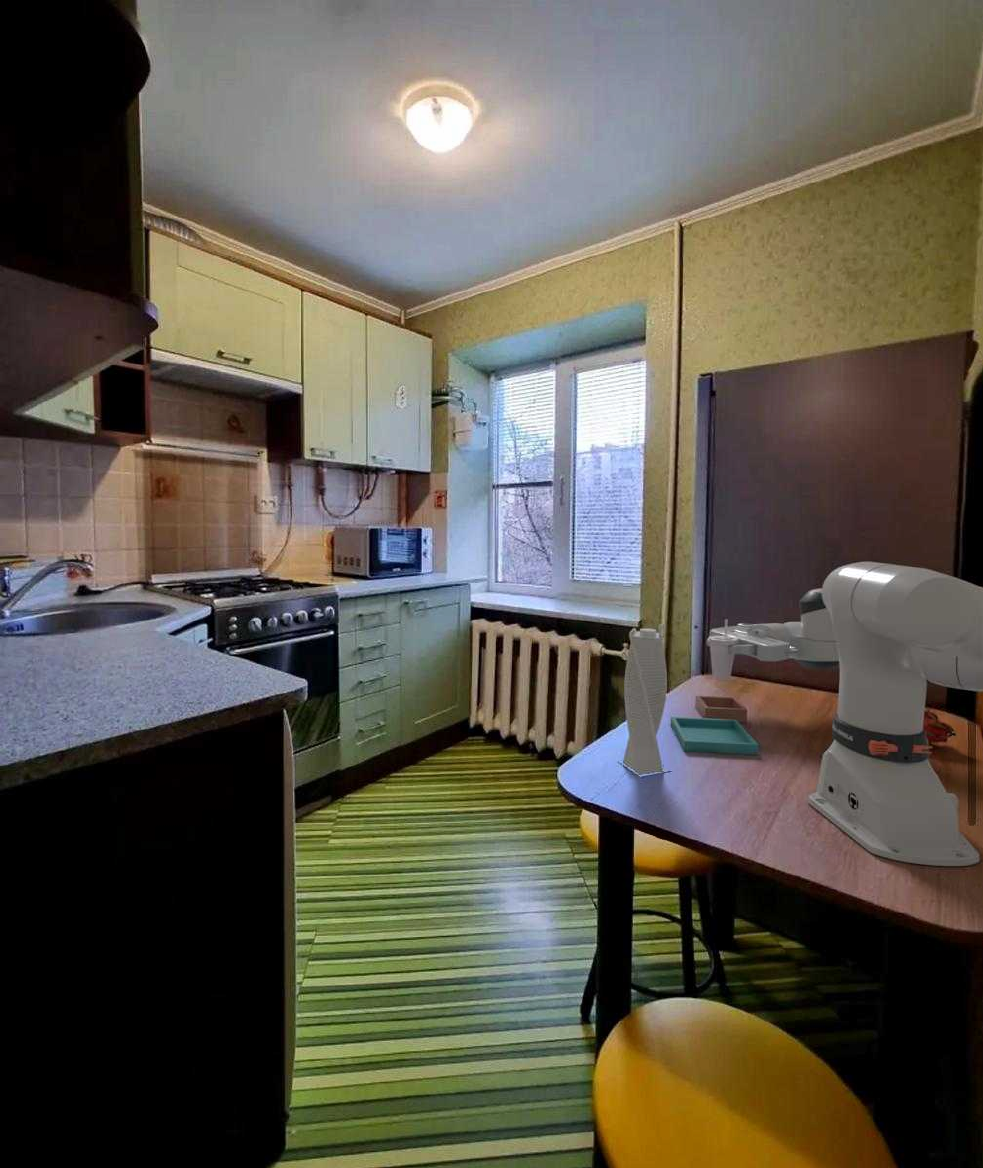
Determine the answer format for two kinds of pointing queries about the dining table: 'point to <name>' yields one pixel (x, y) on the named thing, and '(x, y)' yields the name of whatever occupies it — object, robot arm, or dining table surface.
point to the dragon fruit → (936, 728)
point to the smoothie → (722, 655)
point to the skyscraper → (645, 699)
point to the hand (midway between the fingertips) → (719, 646)
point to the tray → (713, 736)
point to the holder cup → (721, 708)
